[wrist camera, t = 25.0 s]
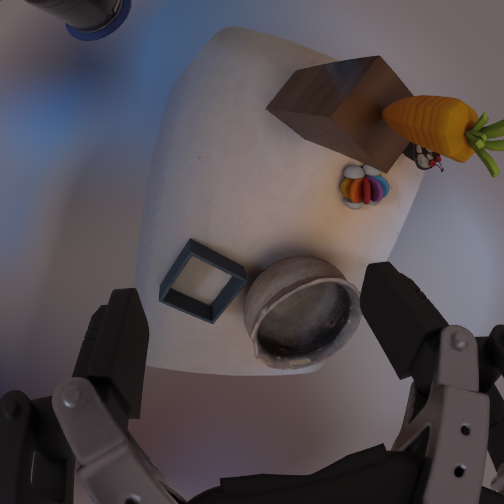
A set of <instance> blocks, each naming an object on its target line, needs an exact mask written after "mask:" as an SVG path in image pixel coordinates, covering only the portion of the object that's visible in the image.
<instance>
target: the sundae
mask: <svg viewBox="0 0 504 504" xmlns="http://www.w3.org/2000/svg"><path fill="white" fill-rule="evenodd" d="M403 154H404V155H405V156H407V157H408V158H410V159H411V160H413V161H415V163H416V165H417V167H418V168H419V169H421V170H427V169H430V168H432V167H434V166H435V165H437V164H435V163H436V162H440V161H441V157H440V154H438V153H436V152H434V151H431V150H429V149H427V148H424V147H422V146H419V145H417V144H414V143H412V142H409V143H408V145H407V146H406V148H405V149H404V150H403ZM440 165H441V164H440ZM437 166H438V165H437ZM438 167H439V166H438ZM443 170H444V169H443V168H442V169H441V172H443Z"/></svg>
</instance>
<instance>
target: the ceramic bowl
mask: <svg viewBox="0 0 504 504" xmlns="http://www.w3.org/2000/svg"><path fill="white" fill-rule="evenodd" d="M359 300H360V292H359V290H358V289H357V288H356V287H355V286H354V285H353V284H352V283H350V282H348V281H347V280H346V278H345V277H344V276H343V274H342V273H341V272H340V271H339V270H338V269H337V268H336V267H335V266H334V265H332V264H331V263H329V262H327V261H325V260H323V259H320V258H315V257H309V256H295V257H290V258H286V259H283V260H281V261H278V262H276V263H274V264H273V265H271V266H270V267H268V268H267V269H265V270H264V271H263V272H262V273H261V274H260V275H259V276H258V277H257V278H256V280H255V281H254V282H253V284H252V285H251V287H250V289H249V290H248V292H247V295H246V298H245V302H244V323H245V326H246V329H247V332H248V334H249V336H250V338H251V340H252V341H253V343H254V345H253V347H254V352H255V357H256V358H257V359H258V360H259V361H260V363H261V364H263V365H265V366H267V367H270V368H276V369H283V370H284V369H298V368H304V367H308V366H312V365H315V364H318V363H320V362H323V361H324V360H325V359H327V358H329V357H331V356H332V355H334V354H335V353H336V352H337V351H339V350H340V349H341V348H342V347H343V346H344V345H345V344H346V343H347V342H348V340H349V339H350V338H351V337H352V335H353V334H354V332H355V331H356V329H357V327H358V325H359V322H360V319H361V316H362V312H361V309H360V303H359Z"/></svg>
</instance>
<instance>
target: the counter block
mask: <svg viewBox="0 0 504 504" xmlns="http://www.w3.org/2000/svg"><path fill="white" fill-rule="evenodd" d="M408 97H413V95H412V93H411V92H410V91H409V90H408V88H407V87H406V86H405V85H404V83H403V82H402V81H401V80H400V78H399V77H398V76H397V75H396V74H395V72H394V71H393V70H392V69H391V68H390V67H389V65H387V63H386V62H385V61H384V60H383V59H382V58H381V57H380V56H371V57H364V58H357V59H350V60H344V61H339V62H333V63H328V64H323V65H318V66H313V67H309V68H304V69H300V70H296V71H295V73H294V74H293V75H292V76H291V78H290V79H289V80H288V81H287V82H286V84H285V85H284V86H283V87H282V89H281V90H280V91H279V92H278V94H277V95H276V96H275V97H274V99H273V100H272V101H271V102H270V104H269V105H268V106H267V108H266V110H268V111H269V112H270V113H272V114H273V115H274V116H276V117H277V118H278V119H280V120H281V121H282V122H284V123H285V124H286V125H287V126H289V127H290V128H291V129H293V130H294V131H295V132H296V133H298V134H299V135H300V136H301V137H303V138H304V139H305V140H308V141H311V142H313V143H316V144H318V145H321V146H324V147H326V148H329V149H331V150H334V151H336V152H339V153H341V154H343V155H346V156H348V157H350V158H353V159H355V160H357V161H360V162H362V163H364V164H366V165H369V166H371V167H373V168H375V169H377V170H379V171H382V172H384V173H386V174H387V172H388V171H389V170H390V168H391V167H392V166H393V164H394V163H395V161H396V160H397V159H398V157H399V156H400V155H401V153H402V152H403V150H404V149H405V148H406V146H407V145H408V143H409V142H410V141H409V140H407V139H405V138H404V137H402V136H400V135H399V134H397V133H396V132H394V131H393V130H392V129H391V128H390V127H389V126H388V124H387V123H386V121H385V120H384V118H383V116H382V112H383V110H384V109H385V108H386V107H388V106H389V105H391V104H392V103H394V102H396V101H398V100H400V99H403V98H408Z"/></svg>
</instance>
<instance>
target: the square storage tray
mask: <svg viewBox="0 0 504 504" xmlns="http://www.w3.org/2000/svg"><path fill="white" fill-rule="evenodd" d="M191 256H194V257H196V258H198V259H200V260H202V261H204V262H206V263H208V264H210V265H212V266H214V267H216V268H218V269H220V270H222V271H224V272H226V273H228V274H230V275H232V276H233V277H232V278H231V279H230V281H229V282H228V283H227V284H226V286H225V287H224V288H223V290H222V291H221V292H220V294H219V295H218V296H217V298H216V299H215V300H214V301H213V303H212V304H211V305H210V306H209V305H207V304H204V303H202V302H200V301H198V300H195V299H193V298H191V297H189V296H186V295H184V294H182V293H180V292H178V291H175V290H173V289H171V287H172V285H173V283H174V282H175V280H176V279H177V277H178V276H179V274H180V273H181V271H182V270H183V268H184V267H185V265H186V264H187V262H188V261H189V259H190V258H191ZM247 281H248V278H247V276H246V273H245V270H244V267H243V266H241V265H240V264H238V263H236V262H234V261H232V260H230V259H228V258H226V257H224V256H222V255H221V254H219V253H217V252H215V251H213V250H211V249H209V248H207V247H205V246H204V245H202V244H200V243H198V242H196V241H194V240H192V239H190V240H189V241H188V243H187V244H186V246H185V247H184V249H183V250H182V252H181V253H180V255H179V256H178V258H177V260H176V261H175V263H174V264H173V266H172V267H171V269H170V271H169V272H168V274H167V275H166V277H165V279H164V280H163V282H162V283H161V285H160V291H159V302H162V303H164V304H166V305H168V306H171V307H173V308H175V309H178V310H180V311H182V312H185V313H187V314H189V315H192V316H194V317H197V318H199V319H201V320H204V321H206V322H209V323H211V324H214V323H215V321H216V320H217V319H218V318H219V316H220V315H221V314H222V313H223V311H224V310H225V309H226V308H227V307H228V305H229V304H230V303H231V302H232V300H233V299H234V298H235V297H236V295H237V294H238V293H239V292H240V290H241V289H242V288H243V286H244V285H245V284H246V283H247Z"/></svg>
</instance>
